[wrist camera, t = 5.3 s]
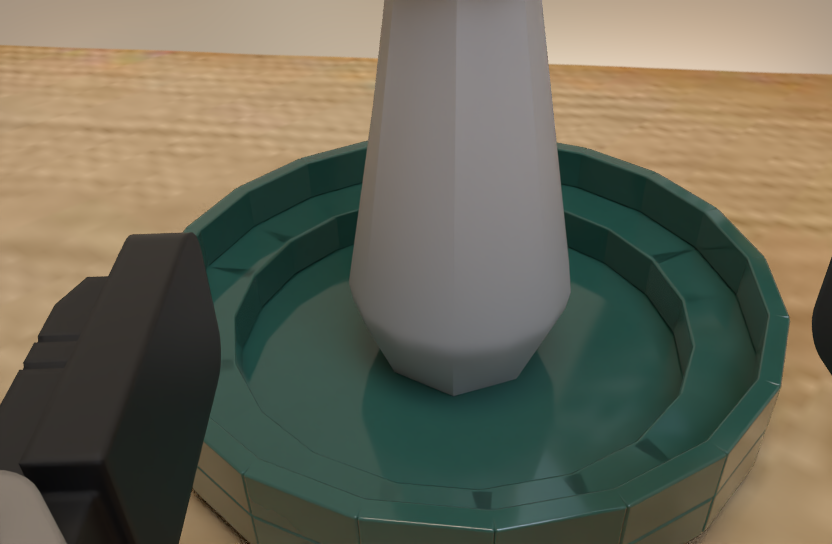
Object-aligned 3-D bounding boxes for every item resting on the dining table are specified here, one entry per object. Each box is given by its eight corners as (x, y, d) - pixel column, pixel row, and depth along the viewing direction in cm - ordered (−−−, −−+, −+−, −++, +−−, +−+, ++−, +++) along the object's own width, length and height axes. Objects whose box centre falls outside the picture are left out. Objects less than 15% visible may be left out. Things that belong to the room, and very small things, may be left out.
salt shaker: (481, 260, 25) (497, -210, 18) (607, 360, 21) (696, -190, 14) (319, 326, 23) (256, -189, 15) (428, 452, 19) (416, -155, 11)
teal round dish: (59, 369, 22) (25, 285, 21) (436, 164, 32) (436, 94, 30) (510, 803, 13) (520, 719, 12) (852, 338, 23) (886, 252, 21)
